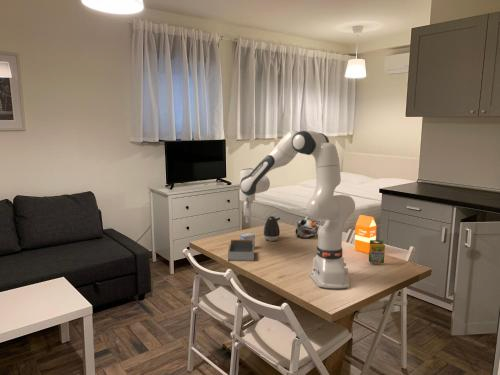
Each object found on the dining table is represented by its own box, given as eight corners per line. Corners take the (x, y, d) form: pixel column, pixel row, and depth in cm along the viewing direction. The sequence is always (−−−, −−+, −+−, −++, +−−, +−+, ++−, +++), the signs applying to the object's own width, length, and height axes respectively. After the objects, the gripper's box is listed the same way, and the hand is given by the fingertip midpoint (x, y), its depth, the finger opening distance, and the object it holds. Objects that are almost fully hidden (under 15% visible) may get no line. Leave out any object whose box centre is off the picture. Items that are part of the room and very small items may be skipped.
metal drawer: (253, 261, 200) (253, 247, 199) (227, 260, 200) (227, 247, 199) (253, 252, 213) (253, 239, 212) (229, 252, 213) (229, 239, 212)
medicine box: (250, 247, 224) (250, 232, 222) (254, 248, 220) (255, 234, 219) (239, 249, 219) (239, 235, 217) (244, 251, 215) (244, 236, 214)
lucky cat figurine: (319, 233, 249) (320, 214, 244) (317, 243, 239) (319, 223, 233) (296, 231, 253) (297, 212, 247) (293, 240, 242) (295, 220, 236)
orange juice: (367, 252, 214) (369, 218, 211) (354, 249, 220) (355, 215, 217) (375, 250, 219) (377, 216, 216) (361, 246, 225) (363, 213, 222)
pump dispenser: (280, 242, 233) (280, 218, 230) (263, 242, 233) (263, 218, 231) (279, 237, 243) (279, 214, 241) (263, 237, 243) (263, 214, 241)
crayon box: (370, 263, 197) (371, 241, 196) (368, 261, 200) (369, 239, 198) (384, 263, 197) (385, 241, 195) (382, 261, 200) (383, 240, 198)
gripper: (252, 199, 204) (252, 225, 206) (252, 194, 224) (252, 217, 226) (241, 200, 204) (241, 225, 206) (242, 194, 224) (242, 217, 226)
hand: (247, 220), depth 216 cm, fingers open, 7 cm apart
